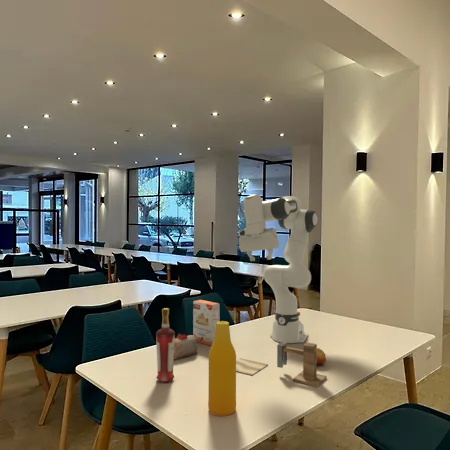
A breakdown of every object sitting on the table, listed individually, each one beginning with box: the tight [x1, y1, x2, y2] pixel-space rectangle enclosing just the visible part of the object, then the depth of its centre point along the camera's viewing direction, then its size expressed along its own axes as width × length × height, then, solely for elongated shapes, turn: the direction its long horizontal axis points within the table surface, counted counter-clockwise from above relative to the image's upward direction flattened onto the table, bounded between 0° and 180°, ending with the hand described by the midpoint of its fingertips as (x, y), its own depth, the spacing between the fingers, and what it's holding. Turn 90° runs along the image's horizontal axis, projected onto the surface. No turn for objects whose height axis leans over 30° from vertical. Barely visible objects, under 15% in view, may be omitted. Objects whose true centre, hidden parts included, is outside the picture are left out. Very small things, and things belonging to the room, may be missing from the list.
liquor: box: [155, 307, 176, 384], centre depth 157 cm, size 7×7×28 cm
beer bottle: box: [207, 320, 237, 417], centre depth 133 cm, size 9×9×29 cm
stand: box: [283, 341, 327, 388], centre depth 161 cm, size 10×19×14 cm, turn 57°
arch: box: [276, 342, 288, 369], centre depth 165 cm, size 5×2×9 cm, turn 147°
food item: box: [174, 333, 198, 360], centre depth 186 cm, size 14×8×10 cm, turn 131°
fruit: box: [317, 347, 327, 367], centre depth 176 cm, size 8×8×8 cm
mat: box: [236, 357, 269, 376], centre depth 172 cm, size 14×14×1 cm
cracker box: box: [192, 299, 221, 347], centre depth 206 cm, size 14×6×21 cm, turn 47°
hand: (260, 260), depth 182 cm, fingers open, 8 cm apart
